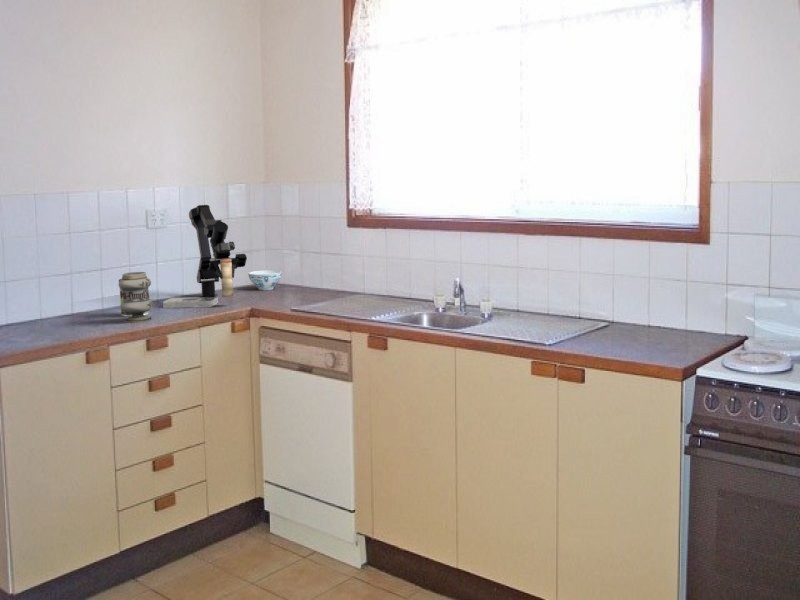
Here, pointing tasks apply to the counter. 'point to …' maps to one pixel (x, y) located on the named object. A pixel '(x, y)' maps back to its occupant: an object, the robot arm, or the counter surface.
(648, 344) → the counter surface
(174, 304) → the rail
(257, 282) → the chinaware
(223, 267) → the peg
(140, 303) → the apothecary jar
